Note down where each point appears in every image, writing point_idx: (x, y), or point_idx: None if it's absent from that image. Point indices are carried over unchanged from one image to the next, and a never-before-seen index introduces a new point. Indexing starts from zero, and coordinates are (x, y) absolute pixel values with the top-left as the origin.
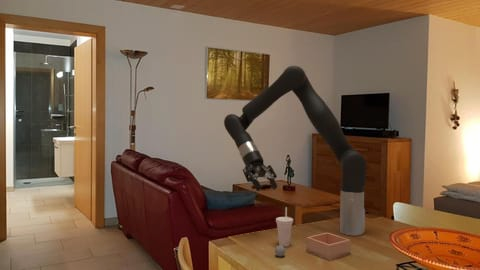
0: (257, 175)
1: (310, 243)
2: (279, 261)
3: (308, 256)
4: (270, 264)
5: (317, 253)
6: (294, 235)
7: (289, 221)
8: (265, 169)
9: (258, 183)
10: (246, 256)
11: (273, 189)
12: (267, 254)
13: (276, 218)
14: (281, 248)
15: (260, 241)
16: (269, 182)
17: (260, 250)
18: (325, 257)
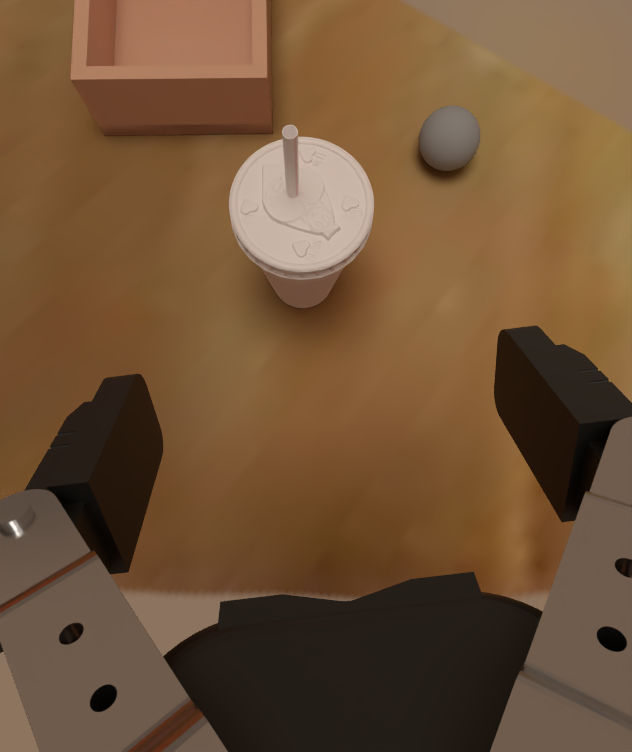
0: (605, 496)
1: (268, 67)
2: (489, 104)
3: (316, 78)
4: (551, 99)
5: (270, 50)
6: None
7: (306, 141)
8: (113, 748)
9: (571, 369)
10: (600, 246)
11: (162, 438)
12: (484, 210)
13: (351, 247)
14: (460, 107)
15: (387, 409)
16: (129, 563)
17: (481, 279)
18: (270, 3)
